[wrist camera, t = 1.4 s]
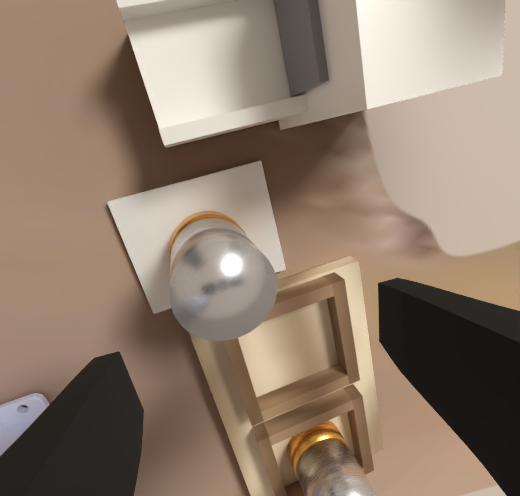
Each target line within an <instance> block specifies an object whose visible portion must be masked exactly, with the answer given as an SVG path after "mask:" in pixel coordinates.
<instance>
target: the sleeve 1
mask: <svg viewBox="0 0 520 496" xmlns="http://www.w3.org/2000/svg"><path fill="white" fill-rule="evenodd" d="M276 296H277V278H276V274H275V271H274V268H273V266H272V264H271V263H270V261H269V260H268V259H267V258H266V256H265V255H264V254H263V253H262V252H261V251H260V250H259V249H258V248H257V246H256V245H255V244H254V243H253V242H252V241H251V240H250V239H249V238H248V237H247V235H246V234H245V232H244V231H243V230H242V228H241V227H240V226H239V225H238V224H237V223H236V222H235V221H234V220H233V219H232V218H230V217H229V216H227V215H225V214H223V213H220V212H216V211H201V212H197V213H194V214H192V215H190V216H188V217H187V218H185V219H184V220H183V221H182V222H181V223H180V224H179V225H178V226H177V227H176V229H175V231H174V233H173V235H172V238H171V242H170V292H169V299H170V305H171V309H172V312H173V314H174V316H175V318H176V319H177V321H178V322H179V323H180V325H181V326H182V327H183V328H184V329H186V330H187V331H188V332H190V333H191V334H193V335H195V336H197V337H199V338H202V339H206V340H212V341H226V340H232V339H235V338H239V337H241V336H243V335H246V334H248V333H249V332H251V331H253V330H254V329H255V328H257V327H258V326H259V325H260V324H261V323H262V322H263V321H264V320H265V319H266V317H267V316H268V315H269V313H270V311H271V310H272V308H273V305H274V303H275V300H276Z"/></svg>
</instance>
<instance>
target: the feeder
mask: <svg viewBox="0 0 520 496" xmlns="http://www.w3.org/2000/svg"><path fill="white" fill-rule="evenodd" d="M117 4H118V7H119V9H120V12H121V15H122V17H123V20H124V23H125V26H126V29H127V32H128V35H129V38H130V41H131V44H132V48H133V51H134V54H135V57H136V60H137V63H138V66H139V69H140V72H141V75H142V78H143V81H144V84H145V87H146V90H147V93H148V96H149V99H150V102H151V105H152V109H153V112H154V115H155V118H156V121H157V124H158V127H159V131H160V134H161V137H162V140H163V144H164V146H165V147H166V148H168V147H172V146H176V145H180V144H184V143H188V142H193V141H197V140H201V139H205V138H209V137H213V136H217V135H221V134H225V133H229V132H233V131H237V130H241V129H245V128H249V127H253V126H257V125H261V124H265V123H269V122H274V121H278V122H279V127H280V130H283V129H287V128H291V127H296V126H300V125H304V124H308V123H313V122H317V121H321V120H325V119H329V118H334V117H338V116H342V115H346V114H351V113H355V112H359V111H363V110H368V109H372V108H375V107H379V106H383V105H387V104H391V103H395V102H399V101H403V100H407V99H411V98H415V97H419V96H423V95H427V94H430V93H434V92H438V91H442V90H446V89H450V88H454V87H458V86H462V85H466V84H470V83H474V82H478V81H481V80H486V79H489V78H493V77H497V76H501V75H502V72H503V70H502V69H503V44H504V19H505V0H117Z"/></svg>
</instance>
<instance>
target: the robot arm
mask: <svg viewBox="0 0 520 496" xmlns="http://www.w3.org/2000/svg"><path fill="white" fill-rule="evenodd" d="M378 297H379V341H380V343H381V344H382V346H383V347H384V349H385V350H386V352H387V353H388V355H389V356H390V358H391V359H392V360H393V362H394V363H395V365H396V366H397V367H398V369H399V370H400V371H401V373H402V374H403V375H404V376H405V377H406V378H407V380H408V381H409V382H410V383H411V384H412V385H413V386H414V387H415V389H416V390H417V391H418V392H419V393H420V394H421V395H422V396H423V398H424V399H425V400H426V401H427V402H428V403H429V404H430V405H431V406H432V407H433V409H434V410H435V411H436V412H437V413H438V414H439V415H440V416H441V417H442V419H443V420H444V421H445V422H446V423H447V424H448V425H449V426H450V427H451V429H452V430H453V431H454V432H455V433H456V434H457V435H458V436H459V437H460V439H461V440H462V441H463V442H464V443H465V444H466V445H467V446H468V448H469V449H470V450H471V451H472V452H473V453H474V455H475V456H476V457H477V458H478V459H479V461H480V462H481V463H482V464H483V465H484V467H485V468H486V469H487V471H488V472H489V473H490V475H491V476H492V477H493V478H494V480H495V481H496V482H497V484H498V485H499V486H500V488H501V489H502V490H503V491H504V493H505V494H506V495H507V496H520V311H517V310H513V309H510V308H506V307H502V306H498V305H495V304H491V303H487V302H484V301H480V300H477V299H473V298H470V297H466V296H463V295H459V294H456V293H452V292H449V291H446V290H442V289H439V288H435V287H432V286H428V285H425V284H421V283H417V282H413V281H409V280H405V279H400V278H396V279H392V280H388V281H384V282H381V283H378ZM21 405H26V406H27V407H26V408H25V407H22V406H21ZM143 413H144V410H143V407H142V405H141V402H140V400H139V398H138V395H137V393H136V390H135V388H134V386H133V383H132V381H131V378H130V376H129V373H128V371H127V369H126V366H125V364H124V361H123V359H122V357H121V354H120V352H115V353H111V354H107V355H103V356H100V357H96V358H94V359H93V360H92V361H91V362H90V363H89V364H87V365H86V366H85V367H84V369H83V370H82V371H81V372H80V373H79V374H78V375H77V376H76V377H75V378H74V379H73V380H72V381H71V382H70V383H69V384H68V385H67V387H66V388H65V389H64V390H63V391H62V392H61V393H60V394H59V395H58V396H57V397H56V398H55V399H54V401H53V402H52V403H51V404H49V402H48V401H47V399H46V398H45V397H44V396H43V395H42V394H39V393H33V394H29V395H27V396H24V397H21V398H18V399H16V400H13V401H10V402H7V403H4V404H2V405H0V496H134V491H135V485H136V479H137V474H138V468H139V462H140V456H141V447H142V434H143Z"/></svg>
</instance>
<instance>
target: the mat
mask: <svg viewBox="0 0 520 496" xmlns="http://www.w3.org/2000/svg"><path fill="white" fill-rule="evenodd" d="M107 203H108V206H109V208H110V211H111V213H112V215H113V218H114V220H115V223H116V225H117V227H118V230H119V232H120V235H121V237H122V239H123V242H124V244H125V247H126V249H127V251H128V254H129V256H130V259H131V261H132V263H133V266H134V268H135V271H136V273H137V275H138V278H139V280H140V283H141V285H142V287H143V290H144V292H145V295H146V297H147V299H148V302H149V304H150V307H151V309H152V311H153V314H156V313H159V312H162V311H165V310H167V309H170V308H171V305H170V299H169V292H170V242H171V238H172V235H173V233H174V231H175V229H176V227H177V226H178V225H179V224H180V223H181V222H182V221H183V220H184V219H185V218H187V217H188V216H190V215H192V214H194V213H197V212H201V211H216V212H220V213H223V214H225V215H227V216H229V217H230V218H232V219H233V220H234V221H235V222H236V223H237V224H238V225H239V226H240V227H241V228H242V230H243V231H244V232H245V234H246V235H247V237H248V238H249V239H250V240H251V241H252V242H253V243H254V244H255V245H256V246H257V248H258V249H259V250H260V251H261V252H262V253H263V254H264V255H265V256H266V258H267V259H268V260H269V261H270V263H271V264H272V266H273V268H274V271H275V273H276V272H279V271H282V270H285V269H286V268H285V263H284V259H283V255H282V250H281V246H280V241H279V237H278V232H277V228H276V224H275V219H274V215H273V210H272V206H271V201H270V197H269V193H268V188H267V184H266V179H265V175H264V171H263V166H262V162H261V161H256V162H252V163H249V164H245V165H241V166H237V167H234V168H230V169H226V170H223V171H219V172H215V173H211V174H208V175H204V176H200V177H196V178H193V179H189V180H185V181H182V182H178V183H174V184H170V185H167V186H163V187H159V188H155V189H152V190H148V191H144V192H141V193H137V194H133V195H129V196H126V197H122V198H118V199H114V200H111V201H108V202H107Z"/></svg>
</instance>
